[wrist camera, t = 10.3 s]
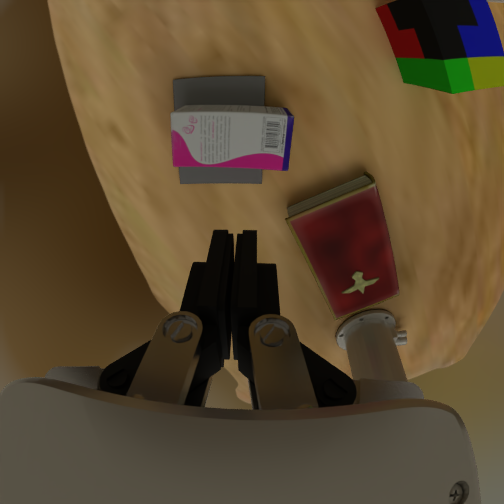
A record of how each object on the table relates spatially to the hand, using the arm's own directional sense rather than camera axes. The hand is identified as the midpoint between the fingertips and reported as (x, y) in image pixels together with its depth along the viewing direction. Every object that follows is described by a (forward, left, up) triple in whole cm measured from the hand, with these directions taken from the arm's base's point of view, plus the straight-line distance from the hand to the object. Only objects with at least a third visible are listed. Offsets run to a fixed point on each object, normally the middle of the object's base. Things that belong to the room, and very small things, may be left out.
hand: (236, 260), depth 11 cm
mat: (+3, 0, -23) cm, 23 cm away
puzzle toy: (-21, -15, -23) cm, 35 cm away
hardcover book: (-15, +16, -24) cm, 32 cm away
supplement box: (-4, 0, -20) cm, 20 cm away
